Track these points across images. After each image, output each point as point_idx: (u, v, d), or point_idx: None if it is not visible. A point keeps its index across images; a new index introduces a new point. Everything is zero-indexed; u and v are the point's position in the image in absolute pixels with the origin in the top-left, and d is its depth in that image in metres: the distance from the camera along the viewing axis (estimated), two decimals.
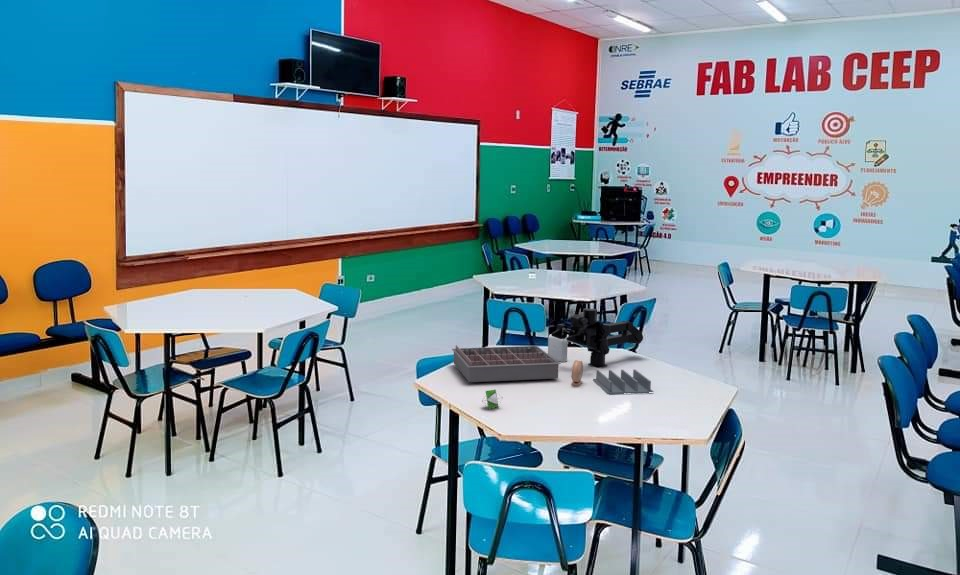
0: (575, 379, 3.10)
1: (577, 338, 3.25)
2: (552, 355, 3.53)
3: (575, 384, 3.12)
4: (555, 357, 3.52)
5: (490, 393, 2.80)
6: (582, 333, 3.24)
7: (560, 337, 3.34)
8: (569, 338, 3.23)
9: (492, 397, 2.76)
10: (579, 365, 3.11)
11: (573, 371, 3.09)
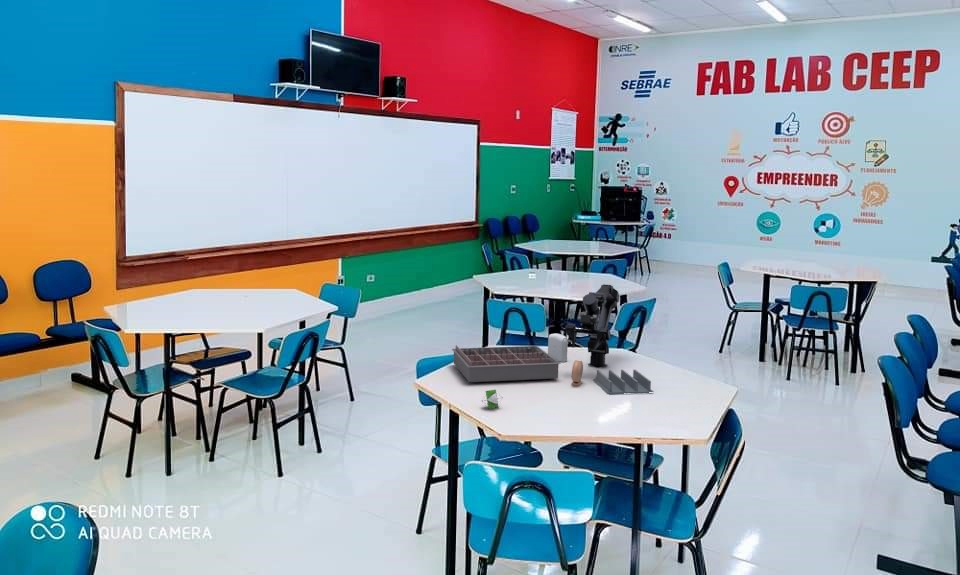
0: (575, 379, 3.10)
1: (599, 339, 3.20)
2: (552, 355, 3.53)
3: (575, 384, 3.12)
4: (555, 357, 3.52)
5: (490, 393, 2.80)
6: (603, 334, 3.18)
7: (575, 338, 3.26)
8: (595, 347, 3.18)
9: (493, 397, 2.77)
10: (579, 365, 3.11)
11: (573, 371, 3.09)
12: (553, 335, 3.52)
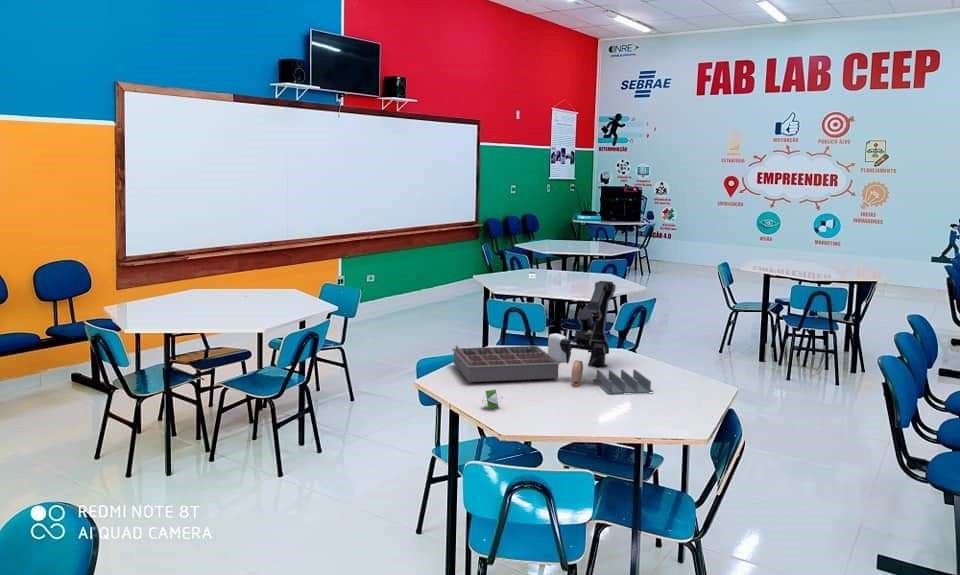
0: (575, 379, 3.10)
1: (594, 355, 3.14)
2: (552, 355, 3.53)
3: (575, 384, 3.12)
4: (555, 357, 3.52)
5: (490, 393, 2.80)
6: (598, 350, 3.12)
7: (570, 353, 3.20)
8: (590, 363, 3.12)
9: (492, 397, 2.76)
10: (579, 365, 3.11)
11: (573, 371, 3.09)
12: (553, 335, 3.52)
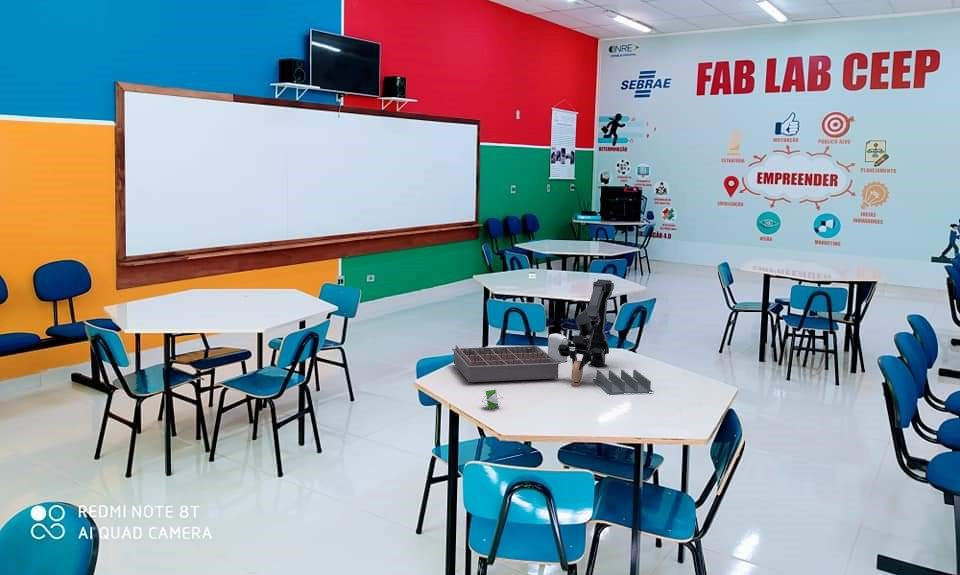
0: (575, 379, 3.10)
1: (585, 359, 3.14)
2: (552, 355, 3.53)
3: (575, 384, 3.12)
4: (555, 357, 3.52)
5: (490, 393, 2.80)
6: (589, 354, 3.12)
7: (576, 359, 3.17)
8: (581, 367, 3.12)
9: (492, 397, 2.76)
10: (579, 365, 3.11)
11: (573, 371, 3.09)
12: (553, 335, 3.52)
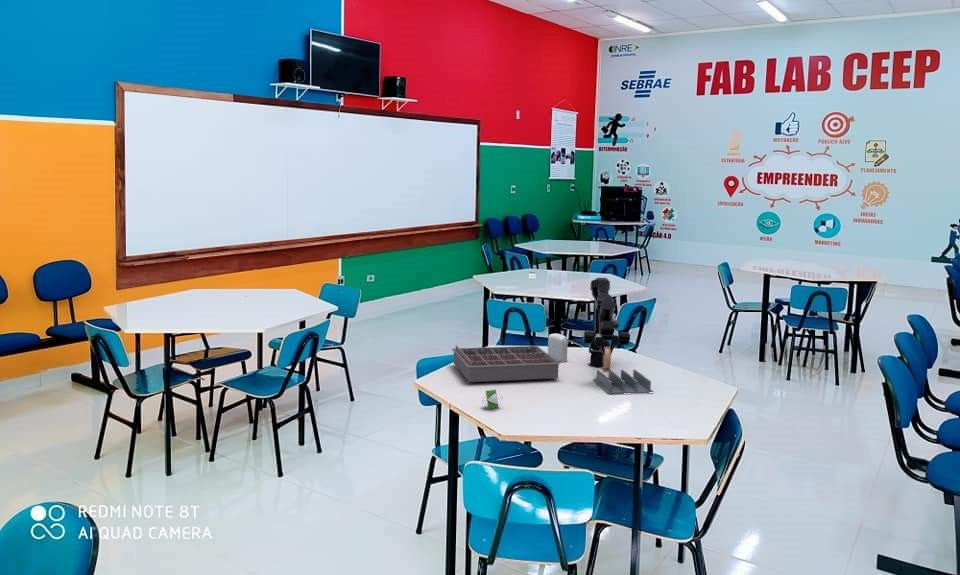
0: (608, 365, 3.06)
1: None
2: (552, 355, 3.53)
3: (607, 370, 3.08)
4: (555, 357, 3.52)
5: (490, 393, 2.80)
6: (617, 339, 3.10)
7: None
8: (611, 353, 3.08)
9: (492, 397, 2.76)
10: None
11: (606, 357, 3.05)
12: (553, 335, 3.52)
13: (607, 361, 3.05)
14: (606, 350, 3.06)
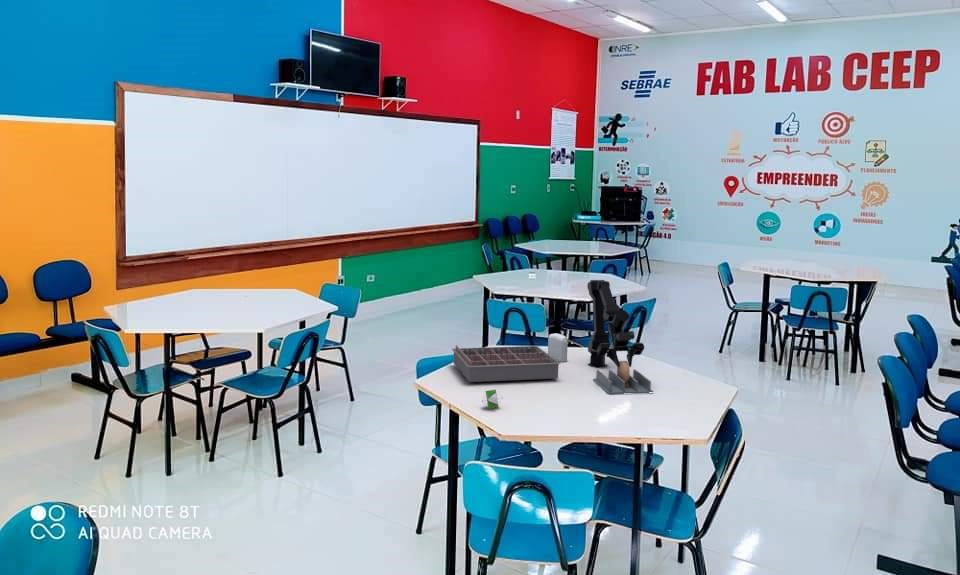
0: (627, 380, 3.07)
1: None
2: (552, 355, 3.53)
3: (625, 385, 3.09)
4: (555, 357, 3.52)
5: (490, 393, 2.80)
6: (635, 350, 3.12)
7: None
8: None
9: (492, 397, 2.76)
10: None
11: (626, 372, 3.06)
12: (553, 335, 3.52)
13: (626, 376, 3.06)
14: (624, 365, 3.07)
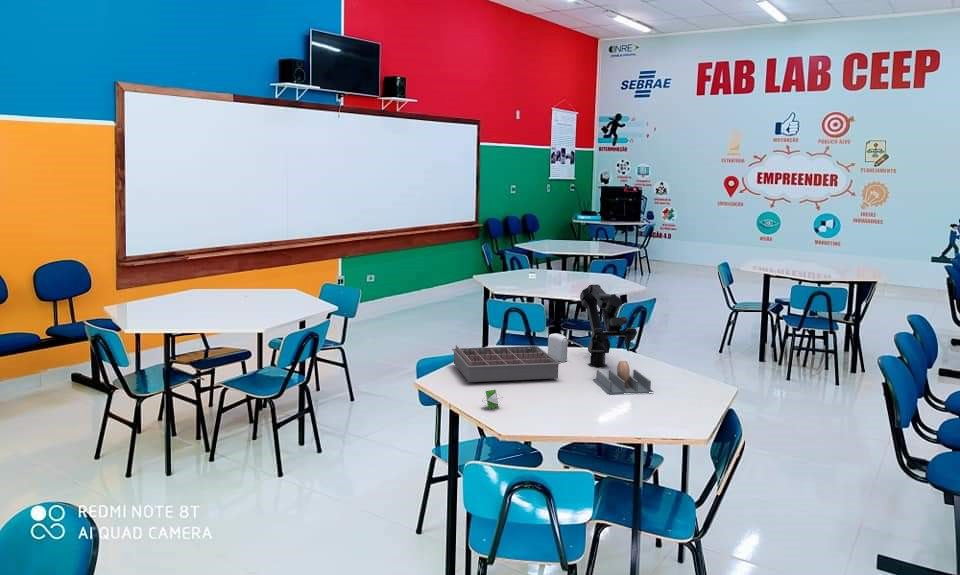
0: (627, 380, 3.07)
1: None
2: (552, 355, 3.53)
3: (625, 385, 3.09)
4: (555, 357, 3.52)
5: (490, 393, 2.80)
6: (633, 335, 3.21)
7: None
8: None
9: (492, 397, 2.76)
10: None
11: (626, 372, 3.06)
12: (553, 335, 3.52)
13: (626, 376, 3.06)
14: (624, 365, 3.07)
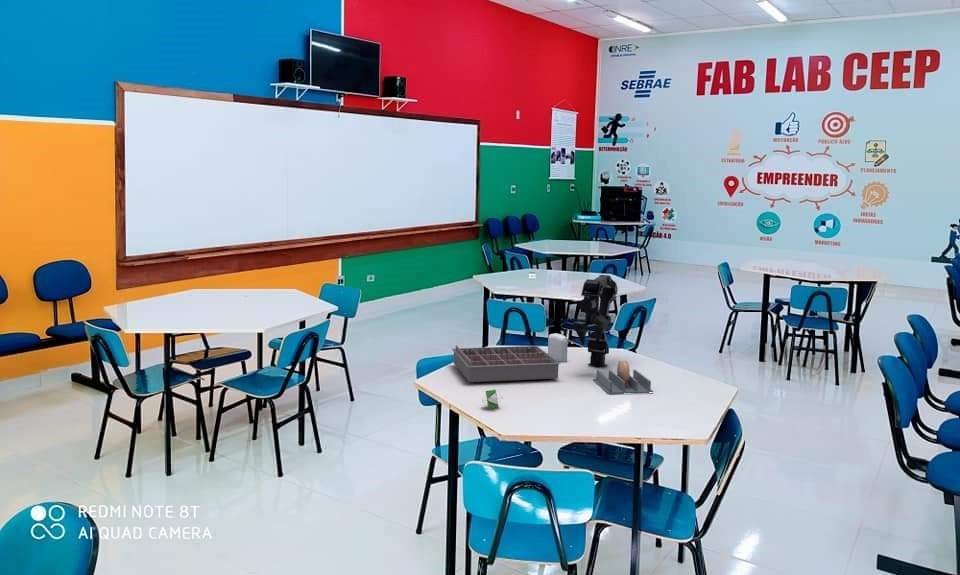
0: (627, 380, 3.07)
1: None
2: (552, 355, 3.53)
3: (625, 385, 3.09)
4: (555, 357, 3.52)
5: (490, 393, 2.80)
6: None
7: None
8: None
9: (492, 397, 2.76)
10: None
11: (626, 372, 3.06)
12: (553, 335, 3.52)
13: (626, 376, 3.06)
14: (624, 365, 3.07)
